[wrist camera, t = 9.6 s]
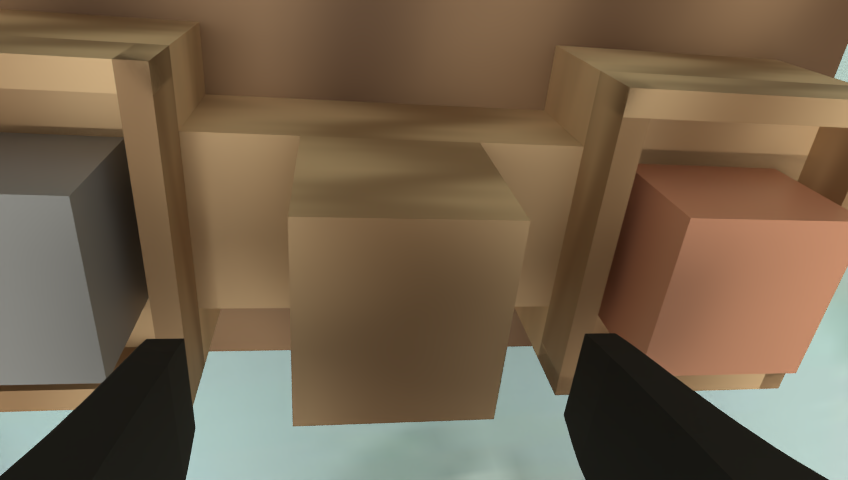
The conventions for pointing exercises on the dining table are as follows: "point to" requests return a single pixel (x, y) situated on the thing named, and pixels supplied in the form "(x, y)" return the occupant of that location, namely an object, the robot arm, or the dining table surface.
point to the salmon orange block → (723, 268)
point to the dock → (453, 59)
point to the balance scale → (398, 203)
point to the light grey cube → (66, 258)
